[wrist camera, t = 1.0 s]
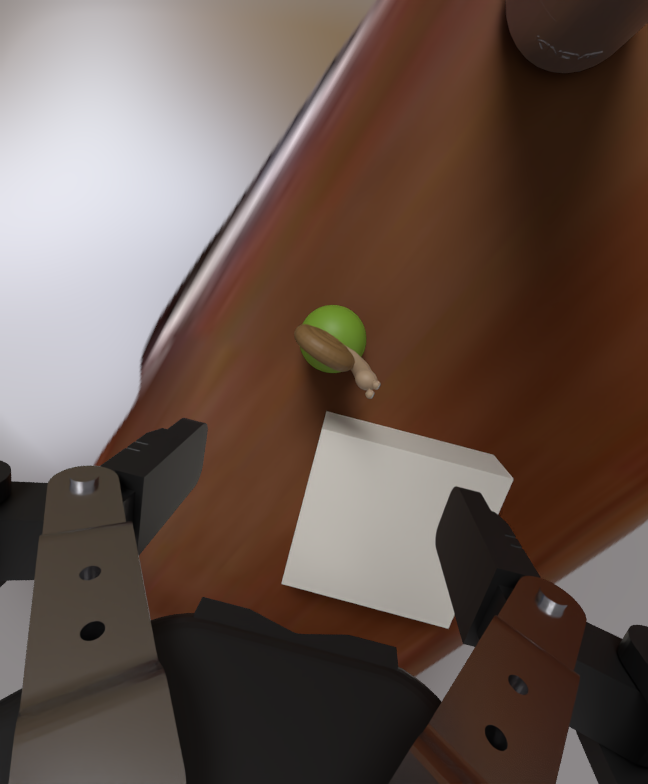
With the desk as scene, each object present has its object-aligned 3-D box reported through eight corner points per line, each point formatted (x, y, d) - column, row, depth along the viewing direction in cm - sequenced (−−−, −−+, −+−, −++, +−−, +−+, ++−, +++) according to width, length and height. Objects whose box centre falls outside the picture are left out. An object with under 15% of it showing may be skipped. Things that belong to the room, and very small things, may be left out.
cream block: (326, 409, 35) (322, 428, 31) (492, 452, 35) (513, 478, 30) (290, 548, 40) (281, 583, 35) (437, 587, 40) (448, 628, 35)
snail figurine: (354, 382, 34) (352, 430, 22) (292, 345, 34) (259, 375, 22) (387, 330, 33) (403, 353, 21) (323, 291, 32) (305, 293, 21)
